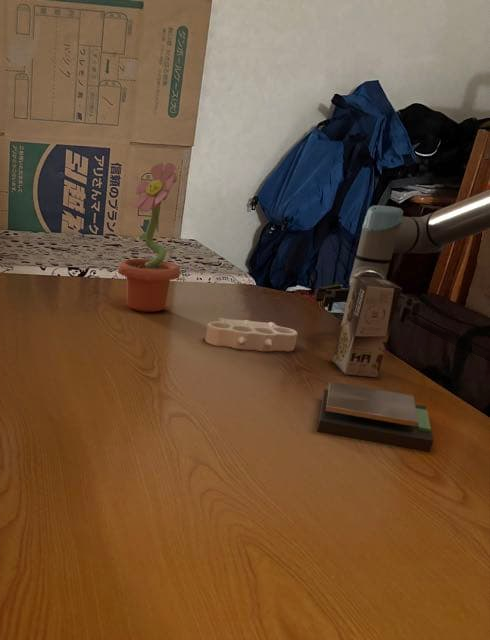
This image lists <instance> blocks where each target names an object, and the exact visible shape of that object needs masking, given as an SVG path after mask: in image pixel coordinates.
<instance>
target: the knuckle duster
mask: <svg viewBox="0 0 490 640" xmlns="http://www.w3.org/2000/svg"><path fill="white" fill-rule="evenodd" d="M298 334H299V333H298V331H296V330H295V329H293V328H289V327H286V326H285V327H284V326H280V325H277V324H276V323H275V322H274V321H268V322H263V321H255V320H254V321H253V320H249V319H244V320H242V319H230V318H224V317H219V318H217V320H216V321H210V322H208V323H207V326H206V334H205V337H204V338H205V339H204V340H205V342H206V343H207V344H209V345H212V346H216V347H226V348H227V347H228V348H233V349H236V350H242V351H257V352H261V353H263V352H264V353H265V352H293V351H295V348H296V344H297V341H298V340H297V339H298Z"/></svg>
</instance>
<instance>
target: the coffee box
mask: <svg viewBox="0 0 490 640" xmlns="http://www.w3.org/2000/svg"><path fill="white" fill-rule="evenodd" d="M402 291H403V288H402V287H401V286H399V285H398V284H396V283H394V282H393V281H391V280H388V279H387V278H386V279H385V278H374V277H354V276H353V278H352V282H351V286H350V290H349V295H348V299H347V303H346V302H345V308H344V313H343V316H342V320H341V324H340V329H339V334H338V337H337V338H338V339H337V343H336V345H335V350H334V355H333V359H332V362H333V363H334V364H335V365H336V366H337V367H338V368H339V370H340V371H341V372H343V374H345V375H347V376H348V375H349V376H359V377H367V378H378V375H379V372H380V368H381V364H382V361H383V358H384V354H385V350H386V347H387V343H388V340H389V338H390V337H389V336H390V333H391V329H392V326H393V322H394V319H395V315H396V313H397V312H396V308H397V305H398V301H399V297H400V294H401V293H402Z"/></svg>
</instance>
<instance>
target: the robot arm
mask: <svg viewBox="0 0 490 640" xmlns="http://www.w3.org/2000/svg"><path fill="white" fill-rule="evenodd" d="M364 217H365V218H364V221H363V223H362V229H361V234H360V238H359V242H358V245H357V250H356V255H355V258H354V261H353V266H352V270H351V272H350V274H349V275H350V276H349V278H348V284H349V285H348V287H347V288H345V287H344V286H343V285H342V283H340V282H336V283H334V284H331V285H325V286H321V287H316V291H315V296H314V301H315V302H317V303H318V302H322V307H324V308H327V312H332V311H333V306H334V304H338V303H345V304H346V303H347V299H348V295H349V290H350V286H351V282H352V278H353V276H354V277H374V278H385V279H387V275H388V273H389V269H390V264H391V261H392V258H393V254H422V255H423V254H424V255H427V254H428V255H429V254H434V253H439V252H441V251H442V250H444V249H445V248H446V246H447V245H449V244H452V243H455V242H457V241H461V240H463V239H466V238H470V237H473V236H474V235H478V234H481V233H485V232H487V231H489V230H490V189H488V190H487V189H486V190H485V191H483V192H480V193H478V194H474V195H472V196H470V197H468V198H465V199H463V200H460V201H457V202H454V203H453V204H450V205H448V206H445V207H442V208H441V209H438V210H436V211H434V212H430V213H428V214H426V215H423V216H404V211H403V209H402V208H400V207H396V206H391V205H390V206H389V205H372V206H370V207H369V208H368V209H367V211H366V215H365V216H364ZM421 306H422V302H421V301H419V300H416V299H414V298H413V297H410V296H407V294H404V293H403V292H401V294H400V297H399V301H398V305H397V308H396V312H395V313H398V319H399V322H400V323H405V321H406V317H411V316H414V317H418V316H419V315H420V311H421Z"/></svg>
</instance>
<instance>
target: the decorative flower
mask: <svg viewBox="0 0 490 640" xmlns="http://www.w3.org/2000/svg"><path fill="white" fill-rule="evenodd" d="M176 169H177V167H176V165H175V164H174V163H172V162H167V163H165V165H164V162H159V163H157V164H155V165H153V166H152V168H150V174H151V177H152V181H151V182H150V181H146V180H141V181H140V182H139V183H138V184H137V186H136V188H135V194H136V195H140V194H141V195H140V196H138V197H136V198H135V199H134V200H133V207H134V208H136V209H139V211H140V212H143V213H147V212H149V211H150V210H151V214H150V215H151V216H150V219H149V222H148V225H147V227H146V228H147V229H146V231H145V232H143V233H142V234H141V235H140V236H139V241H143V240H144V241H145V245H146V247H147V248H148V249H150V250H151V251H152V252H154V253H156V254H157V255H156V256H155V257H153V258H129V259H125V260H122V261H120V262H119V263H118V265H117V273H118V274H120V275H122V276H123V277H126V305H127V307H128V308H129V309H131V310H133V311H137V312H138V311H139V312H145V313H154V312H160V311H162V310H164V308H165V306H166V303H167V298H168V292H169V287H170V282H171V281H173V280H176V279H179V278H180V276H181V270H180V267H179V265H177V264H175V263H173V262H170V261H167V260H164V259H165V258H166V256H167V252H172V251H175V250H176V249H178V248H179V246H174V247H171V248H167V249H166V248H165V247H164V246H162V245H161V244H159V243H157V242H156V241H154V234H155V232H157V233H159V223H160V222H159V220H160V213H161V205H162V202H163V201H165V200H166V199H167V197H168V196H169V193H170V190H171V189H172V188H173V185H174V184H175V183H177V182H178V176H177V173H176V172H175V170H176Z"/></svg>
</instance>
